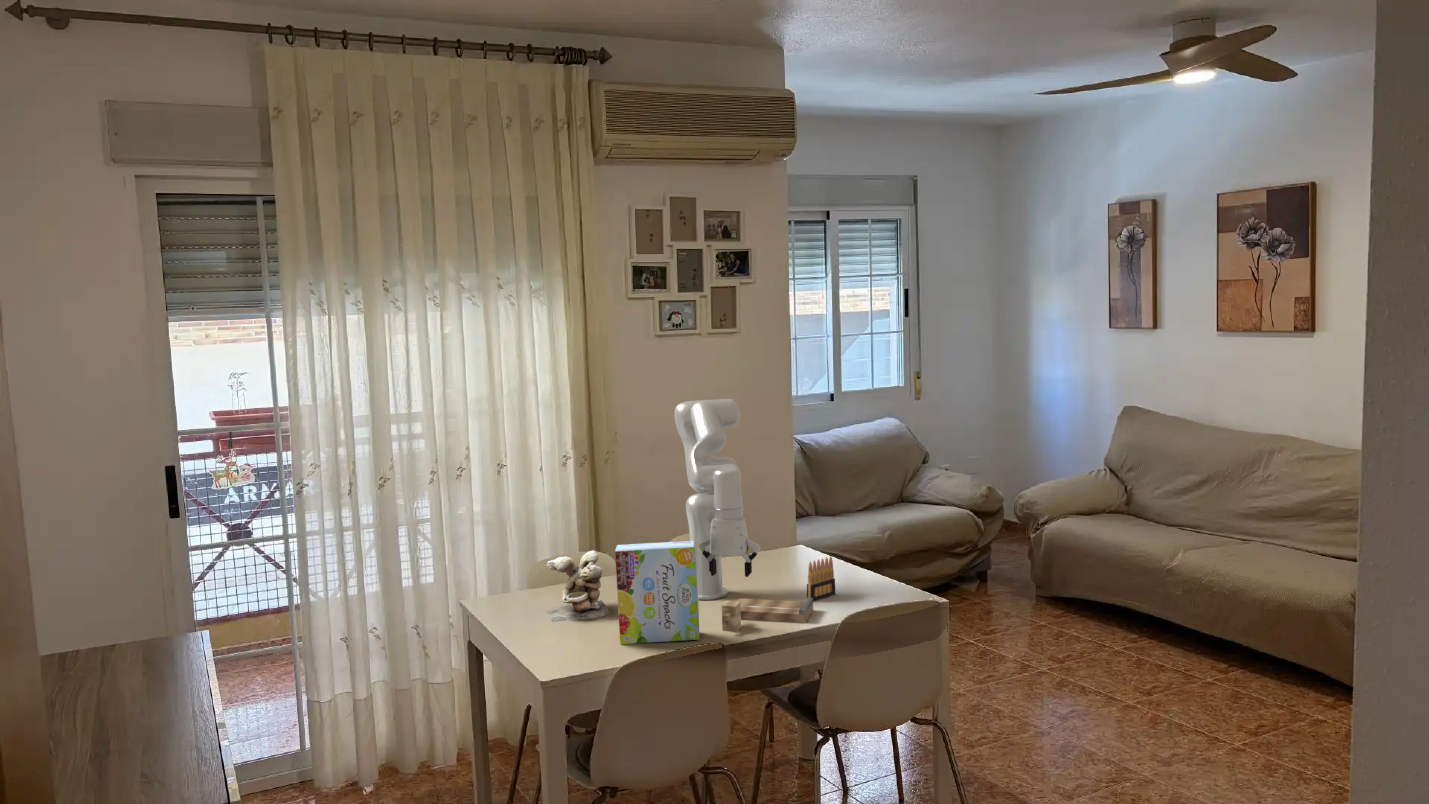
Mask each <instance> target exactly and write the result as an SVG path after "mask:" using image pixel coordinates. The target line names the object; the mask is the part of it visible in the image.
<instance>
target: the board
mask: <svg viewBox="0 0 1429 804" xmlns="http://www.w3.org/2000/svg"><path fill="white" fill-rule="evenodd" d="M737 601H740V605H741V620H745V621H746V620H749V621H764V622H767V621H768V622H770V621H771V622H782V623H783V622H784V623H800V624H806V622H807V621H808V619H809V618H810V616H812V615H811V614H812V613H813V611H814V601H813V598H807V597H806V600H805V601H794V600H775V599H762V598H761V599H758V598H742V597H741V598H738V599H737Z"/></svg>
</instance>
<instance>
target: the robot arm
mask: <svg viewBox="0 0 1429 804" xmlns="http://www.w3.org/2000/svg"><path fill="white" fill-rule="evenodd" d="M673 414H674V421H675V422H674V423H675V427H676V430H677V433H678V435H679V437H680V440H681V441H682V444H683V448H684V449H683V450H684V456H685V468H686V477H687V482H688V484H689V485H688V486H690V488H692V489H693V490H694V491H695V492H697V493H695V494H692V495H690V496H689V497H688V498H687V500H686V502H685V512H686V517H687V518H686V519H687V522H688V523H687V525H688V529H689V530H688V532H689V541H694V543H695V554H696V568H697V585H698V601H699V600H700V601H710V600H718V599H721V598H724V597H726V596H727V595H728V588H727V587H724V586H723V562H722V557H742V558H743V559H744V560H745V562H744V576H745V577H746V578H748V577H749V576H751V574H752V570H753V568H752V567H753V566H752V565H753V564H752V561H753V560H754V559H755V558H756V557H757V555H759V552H760V550H761V545H760V544H759V543H756V542H755V541H753V540H751V539H749V535H748V529H747V528H748V527H747V523H746V519H745V517H743V516H744V503H743V493H742V470H740V468H739V466H738V463H737V461H736V460H735V459H734V458H732V457H730V456H718V457H715V456H714V455H715V454H716V453H718V452H720V451H721V450H722V449H723V448H724V447H725V446H726V443H727V435H726V432H725V428H733V427H734V428H735V427H737V426H738V425H739V423H740V419H741V412H740V409H739V406H738V404H737V402H736V401H735V400H734V399H732V398H725V399H724V398H723V399H720V398H719V399H702V400H699V399H698V400H687V401H684V402H681V403H678V404H677V405H676V406H675V408H674V413H673ZM749 548H752V549H753V551H752V553H750V552H749V550H750V549H749Z"/></svg>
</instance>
